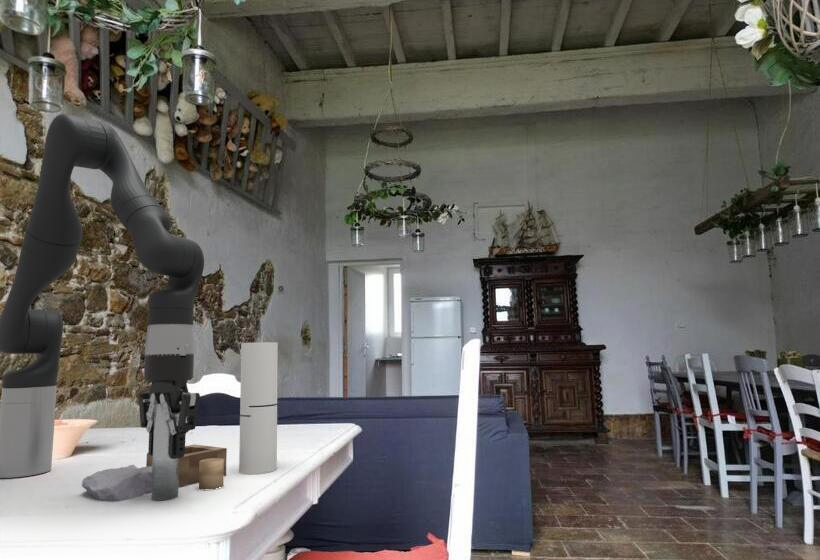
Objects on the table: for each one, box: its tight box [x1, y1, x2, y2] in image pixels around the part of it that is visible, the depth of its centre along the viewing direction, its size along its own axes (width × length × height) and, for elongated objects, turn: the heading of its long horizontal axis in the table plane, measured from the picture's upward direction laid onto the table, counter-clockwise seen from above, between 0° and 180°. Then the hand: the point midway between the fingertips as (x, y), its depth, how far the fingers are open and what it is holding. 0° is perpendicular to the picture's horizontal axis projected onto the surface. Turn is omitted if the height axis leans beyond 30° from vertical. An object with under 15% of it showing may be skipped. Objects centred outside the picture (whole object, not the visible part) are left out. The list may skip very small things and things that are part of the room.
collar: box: [145, 444, 228, 488], centre depth 99 cm, size 10×10×5 cm
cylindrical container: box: [238, 341, 279, 475], centre depth 106 cm, size 7×7×25 cm
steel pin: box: [150, 403, 180, 502], centre depth 87 cm, size 4×4×15 cm
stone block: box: [81, 464, 152, 502], centre depth 90 cm, size 12×5×10 cm
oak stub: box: [198, 458, 225, 490], centre depth 92 cm, size 4×4×4 cm
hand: (166, 456), depth 86 cm, fingers open, 5 cm apart
